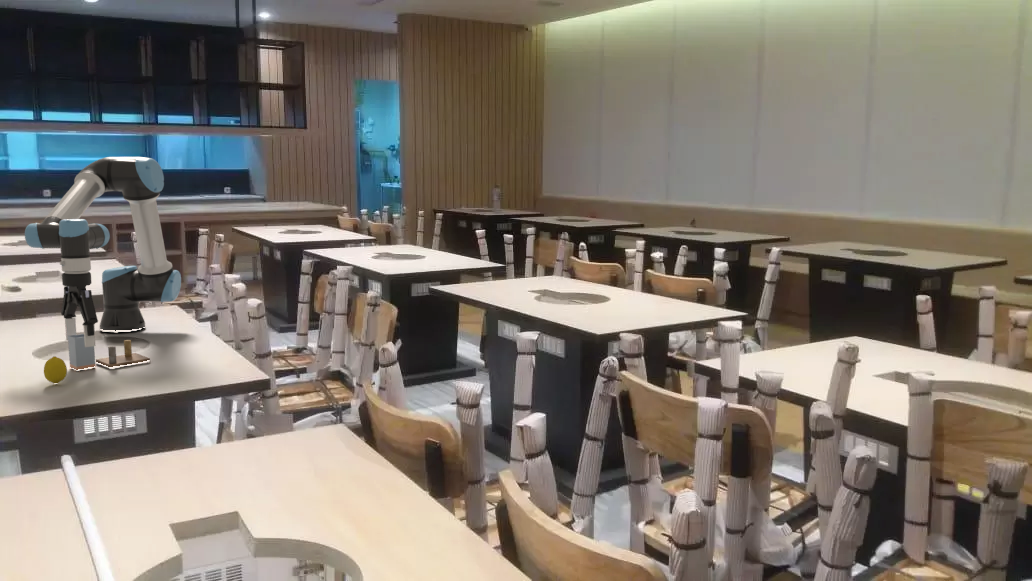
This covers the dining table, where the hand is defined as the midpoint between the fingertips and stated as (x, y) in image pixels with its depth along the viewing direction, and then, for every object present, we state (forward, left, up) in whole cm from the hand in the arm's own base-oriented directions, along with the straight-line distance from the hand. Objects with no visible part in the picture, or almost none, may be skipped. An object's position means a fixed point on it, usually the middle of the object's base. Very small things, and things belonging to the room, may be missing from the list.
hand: (80, 343), depth 241 cm
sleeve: (0, 0, -8) cm, 8 cm away
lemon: (+12, +13, -8) cm, 19 cm away
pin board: (-11, +2, -8) cm, 14 cm away
